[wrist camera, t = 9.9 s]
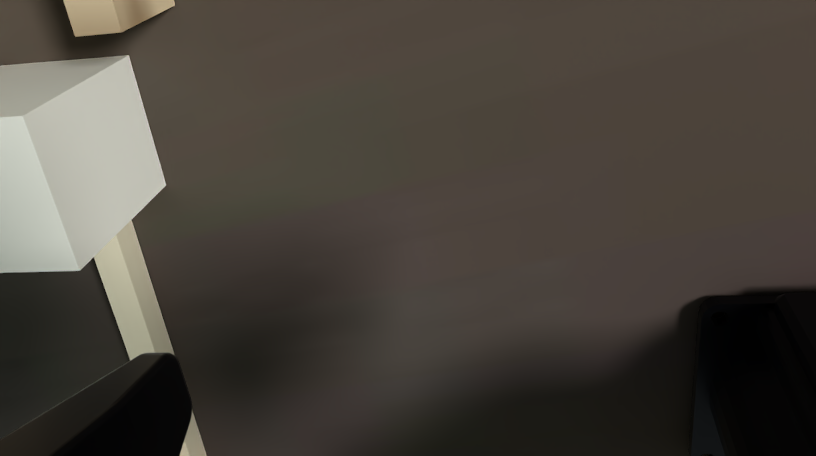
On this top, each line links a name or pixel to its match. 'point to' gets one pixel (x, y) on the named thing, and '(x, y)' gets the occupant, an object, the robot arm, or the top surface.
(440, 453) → the top surface
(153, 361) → the robot arm
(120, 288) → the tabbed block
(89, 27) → the oak lane
